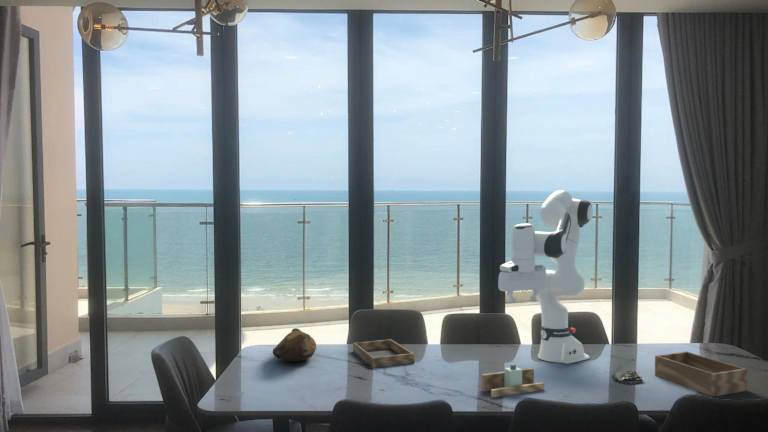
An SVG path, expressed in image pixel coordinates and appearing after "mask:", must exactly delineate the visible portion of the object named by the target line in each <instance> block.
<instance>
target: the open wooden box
mask: <svg viewBox="0 0 768 432" xmlns="http://www.w3.org/2000/svg"><path fill="white" fill-rule="evenodd" d="M654 376H655V377H658V378H660V379H664V380H666V381H668V382H671V383H674V384H677V385H680V386H683V387H685V388H689V389H691V390H693V391H697V392H700V393H702V394H705V395H707V396H709V397H721V396H725V395H729V394H730V395H731V394H736V393H742V392H747V391H748V368H745V367H742V366H738V365H734V364H731V363H727V362H724V361H722V360H717V359H714V358H711V357H708V356H705V355H699V354H697V353H693V352H690V351H681V352H672V353H667V354H666V353H665V354H659V355H658V354H657V355H655V356H654Z"/></svg>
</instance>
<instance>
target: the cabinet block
mask: <svg viewBox="0 0 768 432" xmlns="http://www.w3.org/2000/svg"><path fill="white" fill-rule="evenodd" d="M522 369H523V368H519V367H518V366H517V364H510V366H509V367H504V388H505V387H512V386H519V385H522Z"/></svg>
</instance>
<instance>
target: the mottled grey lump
mask: <svg viewBox="0 0 768 432" xmlns="http://www.w3.org/2000/svg"><path fill="white" fill-rule="evenodd" d="M642 378H643V376H641V375H640V374H638V372H637V371H635V370H631V369H629V370H627V371H626V372H615V373H612V374H611V380H612V381H613V382H614V383H617V384H620V385H621V384H622V385H626V386H627V385H629V386H632V385H633V386H634V385H641V384H642V382H643V379H642Z"/></svg>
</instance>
